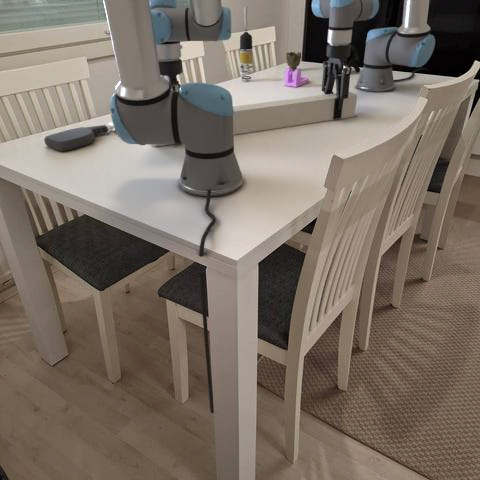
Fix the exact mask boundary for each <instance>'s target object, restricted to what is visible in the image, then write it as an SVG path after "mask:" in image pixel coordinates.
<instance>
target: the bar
mask: <svg viewBox="0 0 480 480" xmlns="http://www.w3.org/2000/svg"><path fill="white" fill-rule="evenodd" d="M335 98H337V95H336V92H334V93H333V94H326V95H325V94H319V95H311V96H303V97H296V98H295V97H294V98H289V99H280V100H274V101H265V102H257V103H251V104H242V105H234V106H233V110H234V115H233V134H234V136H236V135H241V134H249V133H254V132H261V131H269V130H275V129H282V128H288V127H295V126H300V125H308V124H313V123H320V122H328V121H334V120H336V119H333V115H334V104H335ZM357 99H358V94H355V93H353V92H351V91H349V94H348V98H347V99H344V100H343V108H342V114H341V118H339V119H338V120H341V119H348V118H354V117H355V116H356V109H357ZM152 145H153V147H155V148H156V147H162V146H169V145H171V144H152Z"/></svg>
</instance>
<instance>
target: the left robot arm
mask: <svg viewBox="0 0 480 480" xmlns="http://www.w3.org/2000/svg"><path fill="white" fill-rule="evenodd" d="M102 1H103V6H104V10H105V14H106V20H107V25H108V29H109V33H110V39H111V43H112V48H113V53H114V57H115V61H116V67H117V72H118V75H119V82H118V83H117V85H116V86H115V88H114V91H115V92H114V93H113V94H111V97H110V103H109V108H110V112H111V114H110V117H111V122H112V123H113V125H114V127H115V132H116V134H117V136H118V137H119V139H120V140H121V141H123V142H124V143H126V144H128V145H139V146H146V145H153V144H170V145H184V154H185V155H184V158H183V164H182V168H181V171H180V177H179V178H180V179H179V183H180V184H179V185H180V188H181V189H182V191H184V192H186V193H187V194H190V195H194V196H199V197H206V202H205V205H204V212H205V214H206V215H207V216H208V217H209V218H211V221H210V222H209V224H208V225H207V227H206V228H205V231H204V232H203V234H202V236H201V239H200V243H199V248H198V249H199V250H198V251H199V252H198V257H201V258H202V257H204V251H205V242H206V239H207V237H208V234H209V233H210V231H211V230H212V228H213V226H215V224H216V222H217V218H216V216H215V214H213V213H211V211H210V209H209V208H210V203H211V197H221V196H224V195H229V194H232V193H234V192H235V191H237V190H239V189H240V188H241V187H242V185H243V174H242V171H241V168H240V165H239V163H238V160H237V157H236V154H235V138H234V137H235V135H234V134H233V115H234V110H233V105H234V104H233V96H232V94H231V92H230V91H229V90H227V89H226V88H224V87H222V86H220V85H216V84H212V83H205V82H186V83H183V84H180V82H179V80H178V78H177V76H179V75H181V74H183V72H184V70H183V69H184V68H183V60H182V59H181V58H182V49H183V45H182V44H181V42H219V41H220V42H221V41H229V40H230V39H231V37H232V13H231V12H232V11H231V9H230V8H229V7H225V6H222V0H187V3H188V7H178V1H177V0H102ZM199 281H200V295H201V297H200V298H201V314H202V324H203V325H202V326H203V336H204V337H203V339H204V351H205V360H206V361H205V362H206V374H207V386H208V397H209V398H208V399H209V411H210V413H211V414H214V412H215V409H214V397H213V395H214V394H213V382H212V380H213V379H212V370H211V369H212V368H211V356H210V355H211V354H210V344H209V342H210V341H209V333H208V332H209V330H208V329H209V328H208V317H207V316H208V315H207V300H206V280H205V274H204V273H199Z"/></svg>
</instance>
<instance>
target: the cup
mask: <svg viewBox="0 0 480 480" xmlns="http://www.w3.org/2000/svg"><path fill="white" fill-rule="evenodd" d="M285 59H286V65H287V66H288V68H292V70H293V72H294V71H295V70H296V69H298V68H297V67H299V66H300V64H301V59H302V52H299V51H298V52H297V53H296V52H295V51H294V52H293V51H290V52H286V57H285Z"/></svg>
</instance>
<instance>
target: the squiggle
mask: <svg viewBox="0 0 480 480" xmlns="http://www.w3.org/2000/svg"><path fill="white" fill-rule="evenodd" d="M350 46H351V49H350V56H349V57H348V58H347V59H346V63H347V66H348V67H351V68H352V69H354V70H355V72H356V73H359V72H360V73H361V68H360V66H359V65H358V64H357V63H358V62H359V60H360V55H359V53H358V49H357V47H356V46H355V45H350ZM353 57H354V59H353Z"/></svg>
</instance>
